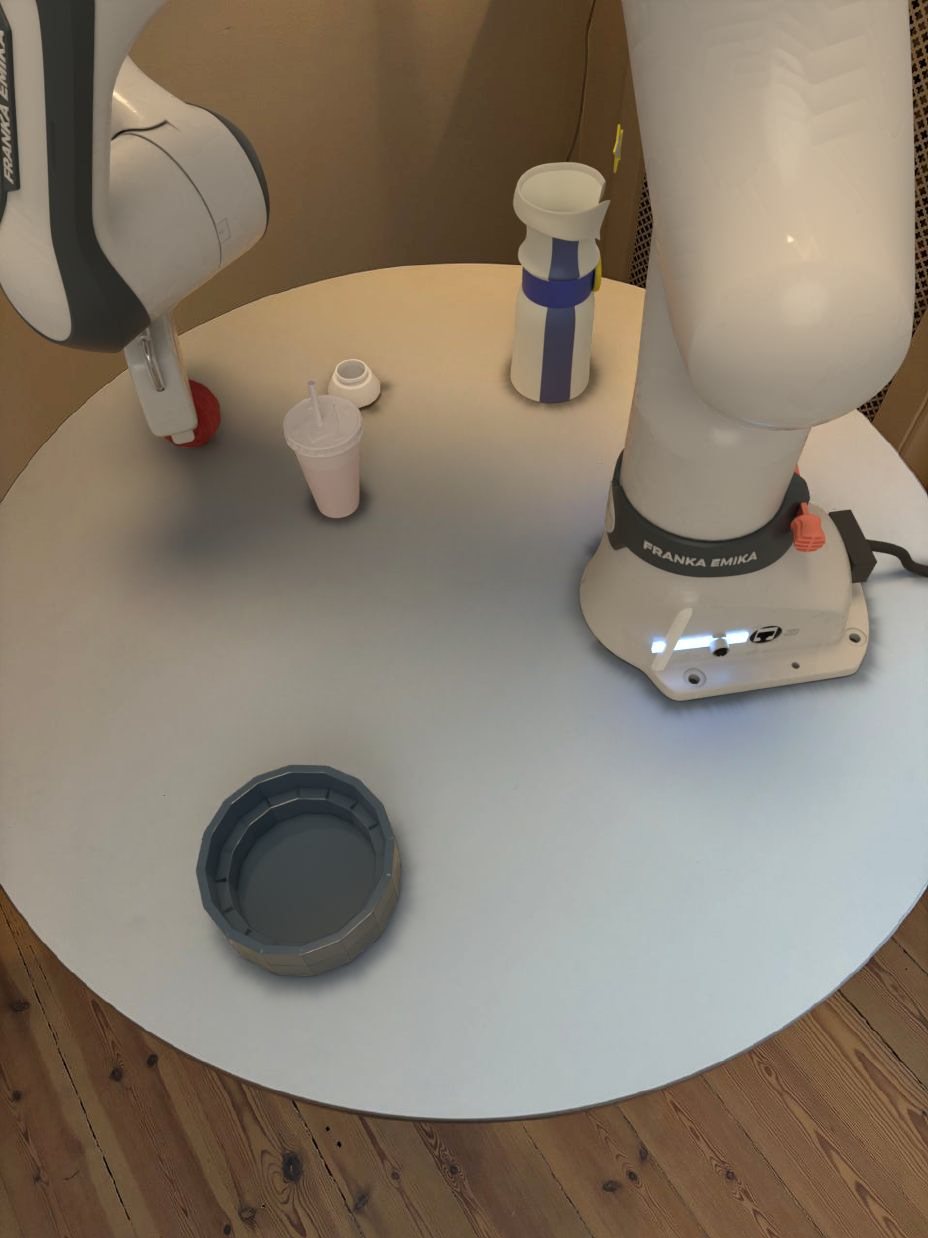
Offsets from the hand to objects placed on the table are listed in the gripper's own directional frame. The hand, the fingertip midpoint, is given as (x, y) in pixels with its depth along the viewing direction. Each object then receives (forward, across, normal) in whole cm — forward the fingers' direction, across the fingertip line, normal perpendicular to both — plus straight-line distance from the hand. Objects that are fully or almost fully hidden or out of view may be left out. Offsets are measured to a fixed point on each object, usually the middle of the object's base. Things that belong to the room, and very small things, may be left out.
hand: (176, 401), depth 81 cm
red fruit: (+6, 0, -1) cm, 6 cm away
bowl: (+5, -44, -1) cm, 44 cm away
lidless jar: (+5, +2, -16) cm, 17 cm away
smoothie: (+5, -12, -11) cm, 17 cm away
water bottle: (+5, -2, -35) cm, 35 cm away
